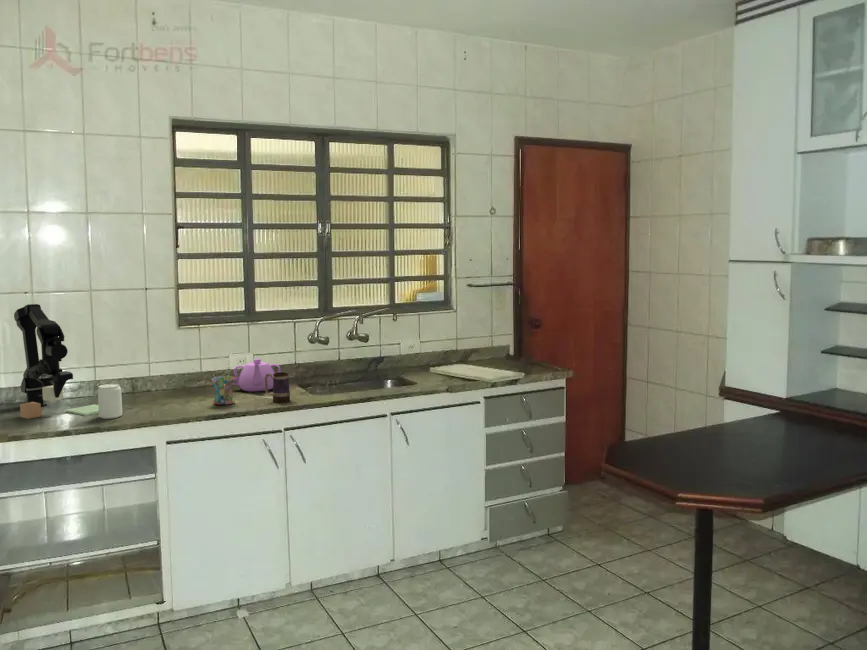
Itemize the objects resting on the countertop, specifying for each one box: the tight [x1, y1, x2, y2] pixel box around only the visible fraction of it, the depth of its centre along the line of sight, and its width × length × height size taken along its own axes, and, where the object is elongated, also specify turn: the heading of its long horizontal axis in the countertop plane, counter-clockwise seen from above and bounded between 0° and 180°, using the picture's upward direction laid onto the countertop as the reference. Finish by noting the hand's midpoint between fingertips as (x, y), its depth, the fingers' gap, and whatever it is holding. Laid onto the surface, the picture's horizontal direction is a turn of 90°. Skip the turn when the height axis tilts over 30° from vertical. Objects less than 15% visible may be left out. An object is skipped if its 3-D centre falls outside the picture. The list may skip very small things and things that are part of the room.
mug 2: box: [265, 371, 291, 404], centre depth 302 cm, size 10×7×12 cm
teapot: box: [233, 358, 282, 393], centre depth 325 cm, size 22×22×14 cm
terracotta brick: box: [19, 402, 42, 420], centre depth 278 cm, size 5×5×5 cm
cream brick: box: [42, 385, 64, 402], centre depth 280 cm, size 5×5×5 cm
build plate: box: [65, 404, 99, 417], centre depth 287 cm, size 12×12×1 cm
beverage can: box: [97, 383, 123, 420], centre depth 276 cm, size 8×8×12 cm
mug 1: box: [211, 375, 236, 406], centre depth 297 cm, size 12×9×11 cm
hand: (52, 396), depth 280 cm, fingers closed on cream brick, 5 cm apart
